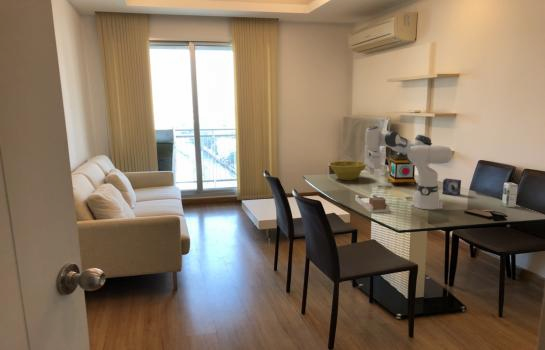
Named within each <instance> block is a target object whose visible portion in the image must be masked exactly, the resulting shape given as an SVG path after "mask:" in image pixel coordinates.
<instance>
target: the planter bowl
mask: <svg viewBox="0 0 545 350" xmlns="http://www.w3.org/2000/svg"><path fill="white" fill-rule="evenodd" d="M328 165H329V166H330V168H331V170H332V171H334V173H335V176H336V177H337V178H338V179H339V180H344V181H352V180H353V181H354V180H357V179H358V178H359V177H360V175H361V173H362V171H365V169H366V166H367V165H365V163H364V161H357V160H339V161H333V162H329V163H328Z"/></svg>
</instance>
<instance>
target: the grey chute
mask: <svg viewBox="0 0 545 350" xmlns="http://www.w3.org/2000/svg"><path fill="white" fill-rule="evenodd" d="M354 197H355V199H354V200H355V201H356V203H358V205H360V206H362V207H363V208H365V210H367V211H368V212H369V213H382V212H384V213H385V212H390V205H389V204H388V203H386V202H385V209H373V206H372V205H371V204H369V198H373V197H378V196H377V195H375V194H372V193H371V194H369V197H367V198H365V197H364V198H363V197H362V196H361V195H358V194H356V195H355V196H354Z"/></svg>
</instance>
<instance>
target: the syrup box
mask: <svg viewBox="0 0 545 350" xmlns="http://www.w3.org/2000/svg"><path fill="white" fill-rule="evenodd" d="M518 186H519V185H518V184H516V183H514V182H504V183H503V191H502V201H501V205H502V206H503V207H506V208H516V207H517V205H516V203H517V197H518V195H517V194H518Z"/></svg>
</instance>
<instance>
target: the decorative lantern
mask: <svg viewBox="0 0 545 350" xmlns="http://www.w3.org/2000/svg"><path fill="white" fill-rule="evenodd" d="M405 155H406V156H407V154H406V153H402V152H396V153H395V154H392V155H390V156H389V157H388V159H389V161H390V162H389V169H388V170H389V176H388V177H387V182H388V183H390V182H392V183H393V187H396V184H409V183H413V186H414V187H415V186H416V185H417V181H416V180H415V171H416V166H415V165H412V164H410V163H409V162H408V161H407V157H406V156H405Z"/></svg>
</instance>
